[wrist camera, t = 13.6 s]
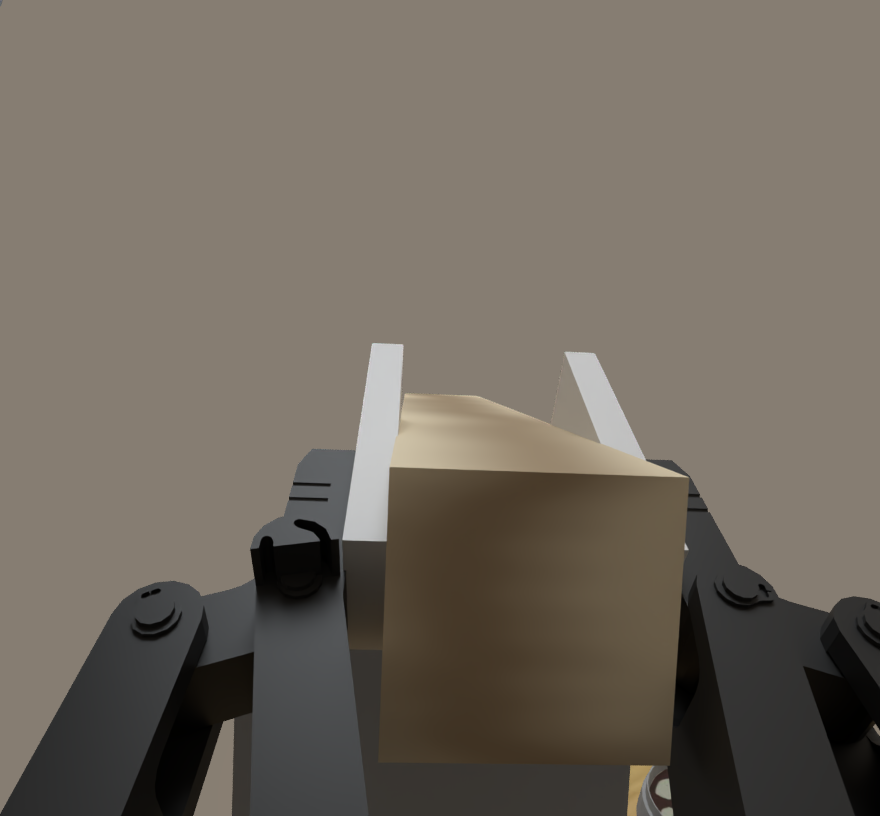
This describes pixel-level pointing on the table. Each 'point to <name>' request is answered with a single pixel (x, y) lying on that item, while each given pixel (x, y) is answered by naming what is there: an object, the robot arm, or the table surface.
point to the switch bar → (526, 593)
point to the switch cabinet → (451, 773)
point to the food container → (655, 794)
